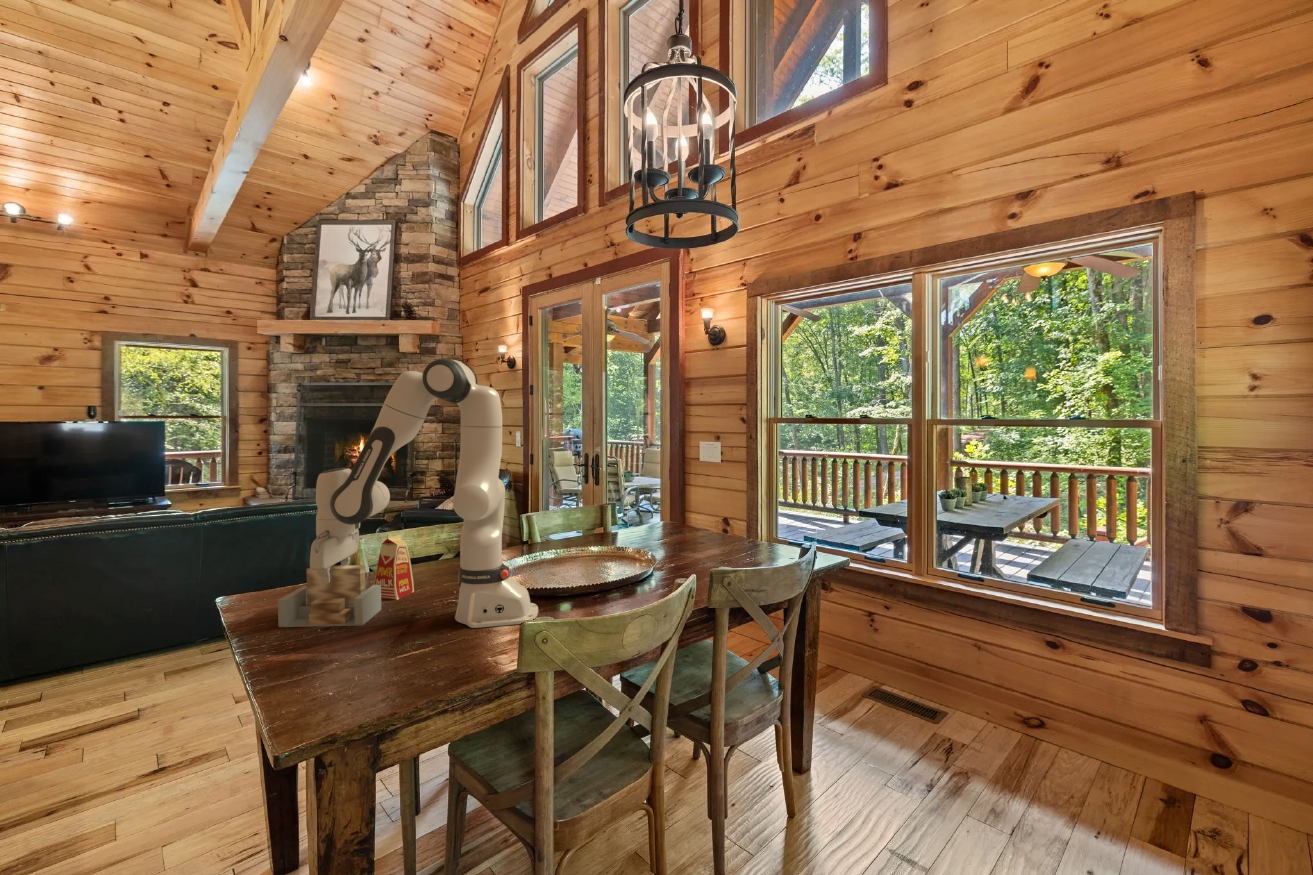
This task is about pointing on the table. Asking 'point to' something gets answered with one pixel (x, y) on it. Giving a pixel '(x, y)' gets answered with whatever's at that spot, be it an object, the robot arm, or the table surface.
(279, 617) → the rack
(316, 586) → the panel
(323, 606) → the offcut
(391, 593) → the milk carton
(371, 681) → the table surface
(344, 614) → the offcut
